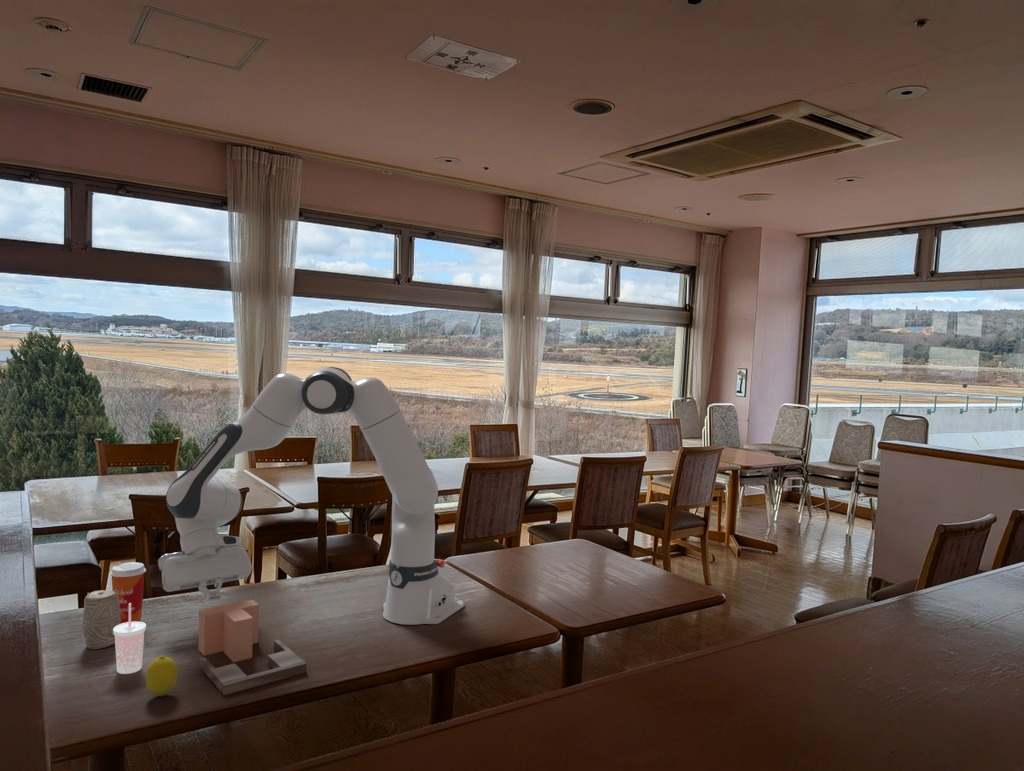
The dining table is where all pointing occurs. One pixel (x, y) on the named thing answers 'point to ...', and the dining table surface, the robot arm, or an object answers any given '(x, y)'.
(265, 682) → the t dock
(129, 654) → the beverage cup
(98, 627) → the carving
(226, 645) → the t block
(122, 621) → the paper cup
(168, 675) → the lemon
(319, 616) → the dining table surface
